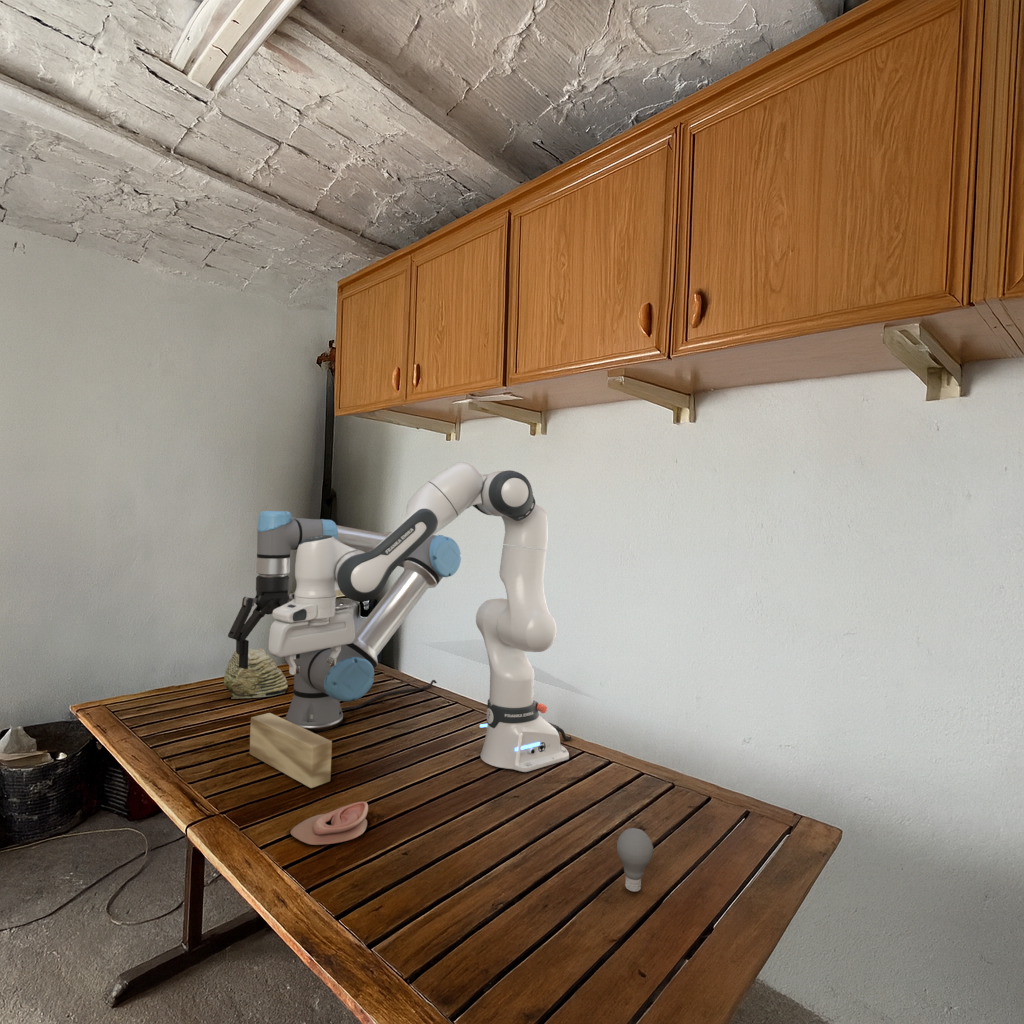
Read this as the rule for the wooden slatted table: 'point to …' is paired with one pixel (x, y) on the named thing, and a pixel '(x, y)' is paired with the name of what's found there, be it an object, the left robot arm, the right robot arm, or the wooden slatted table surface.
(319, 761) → the birch rail
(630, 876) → the light bulb
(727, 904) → the wooden slatted table surface
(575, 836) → the wooden slatted table surface
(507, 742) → the right robot arm
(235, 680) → the fossil
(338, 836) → the anatomical model
